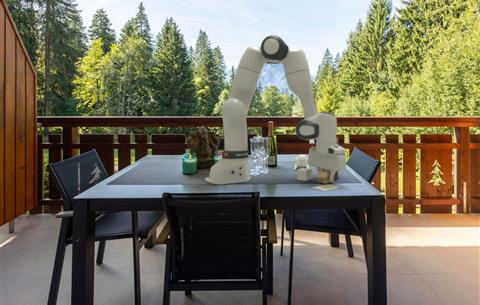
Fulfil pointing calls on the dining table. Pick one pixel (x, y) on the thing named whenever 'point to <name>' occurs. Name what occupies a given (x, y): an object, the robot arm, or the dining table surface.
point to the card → (326, 187)
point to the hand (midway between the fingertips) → (325, 178)
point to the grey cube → (304, 174)
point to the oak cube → (324, 176)
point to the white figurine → (301, 162)
